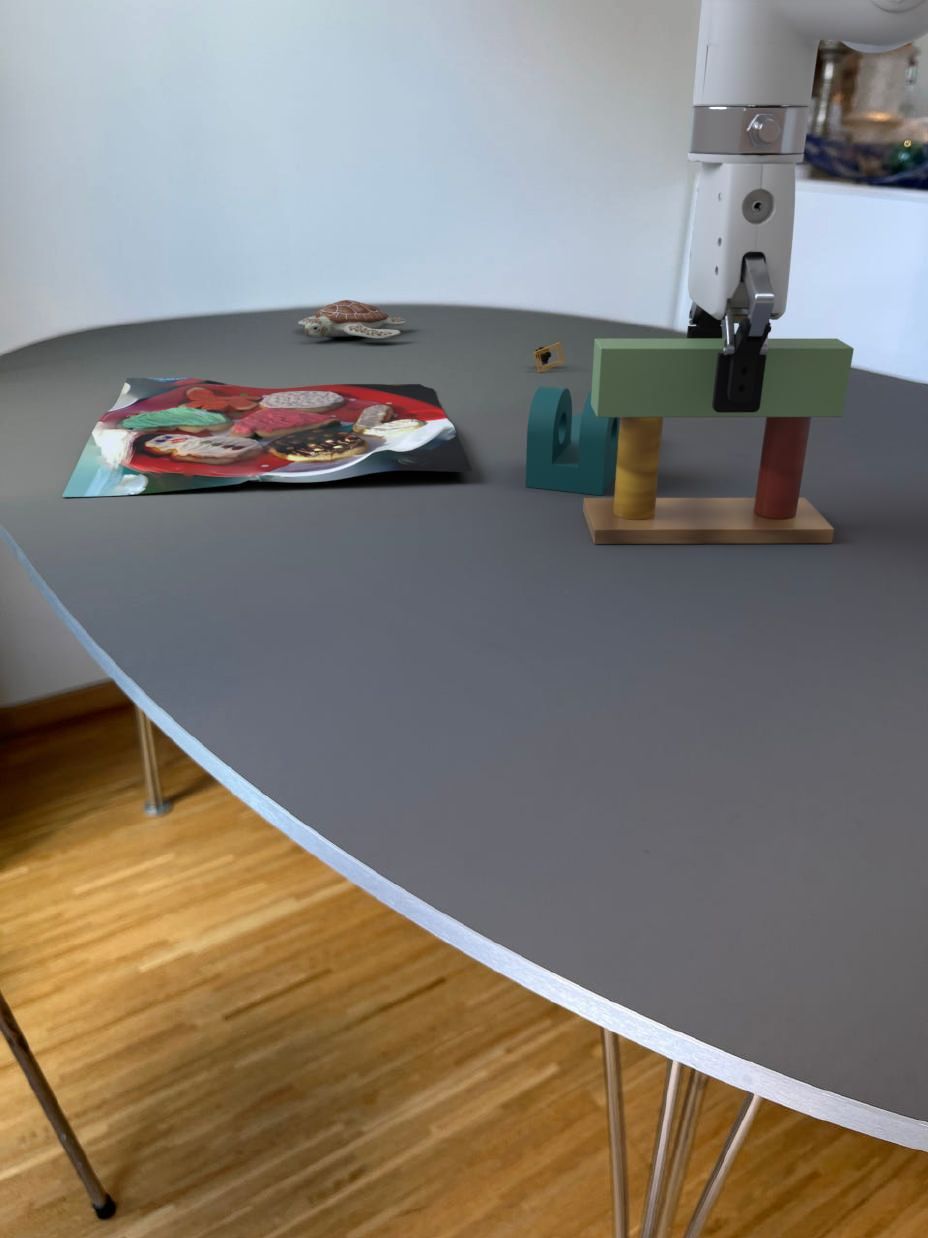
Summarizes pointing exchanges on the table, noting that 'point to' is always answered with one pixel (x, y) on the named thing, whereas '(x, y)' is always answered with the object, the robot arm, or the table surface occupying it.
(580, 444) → the bracket
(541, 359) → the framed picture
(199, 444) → the printed food placemat
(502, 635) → the table surface
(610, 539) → the rods
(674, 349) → the bar
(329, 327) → the decorative turtle
